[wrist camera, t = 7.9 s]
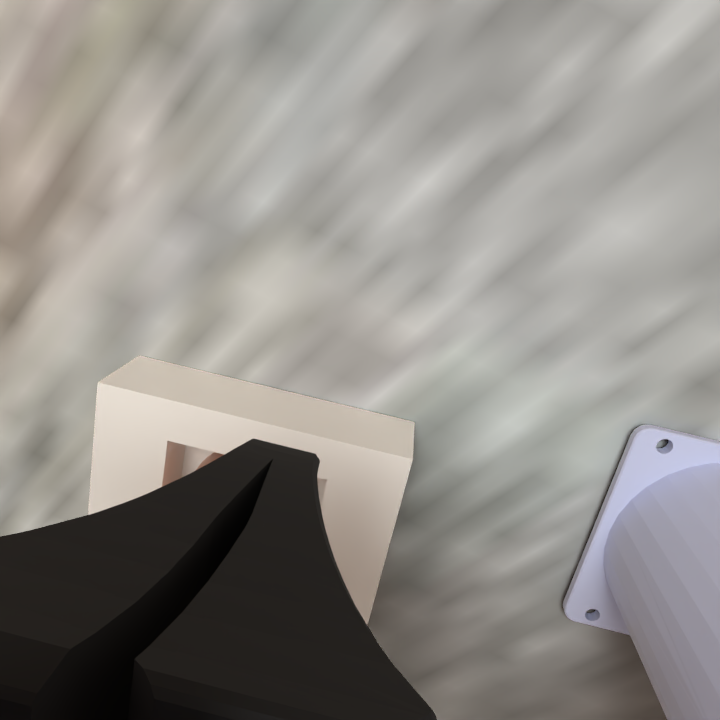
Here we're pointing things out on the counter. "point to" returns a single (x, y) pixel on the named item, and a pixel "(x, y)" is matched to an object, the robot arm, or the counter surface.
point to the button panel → (237, 426)
